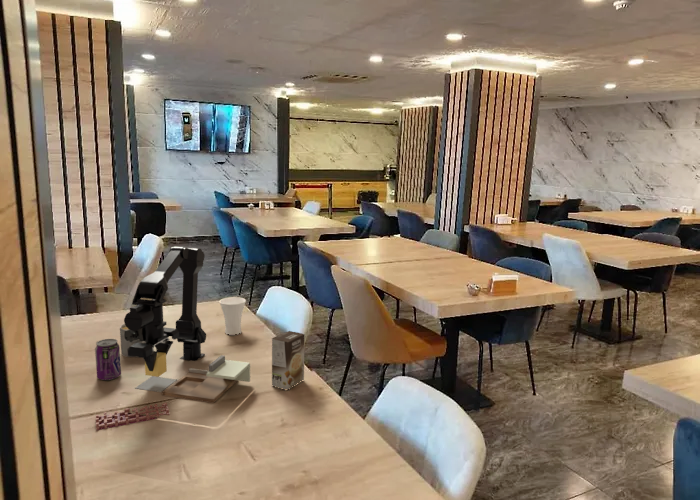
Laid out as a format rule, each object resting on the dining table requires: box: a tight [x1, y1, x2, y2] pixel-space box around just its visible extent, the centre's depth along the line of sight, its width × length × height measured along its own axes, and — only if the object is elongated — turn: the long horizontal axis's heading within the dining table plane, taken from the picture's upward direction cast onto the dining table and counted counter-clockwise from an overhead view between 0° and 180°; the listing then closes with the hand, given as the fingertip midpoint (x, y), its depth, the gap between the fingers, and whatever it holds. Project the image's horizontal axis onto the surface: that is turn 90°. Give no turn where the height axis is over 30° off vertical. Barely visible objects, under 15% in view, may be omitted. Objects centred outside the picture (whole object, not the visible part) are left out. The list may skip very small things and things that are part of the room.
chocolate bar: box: [95, 402, 170, 431], centre depth 144 cm, size 7×19×2 cm, turn 116°
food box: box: [271, 330, 305, 390], centre depth 165 cm, size 9×6×16 cm
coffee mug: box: [119, 323, 146, 358], centre depth 187 cm, size 13×10×10 cm
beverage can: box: [94, 338, 122, 381], centre depth 167 cm, size 7×7×12 cm
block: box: [144, 352, 168, 377], centre depth 162 cm, size 4×4×6 cm
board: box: [161, 367, 239, 403], centre depth 161 cm, size 16×17×2 cm
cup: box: [218, 296, 247, 336], centre depth 210 cm, size 10×10×14 cm
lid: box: [206, 354, 251, 383], centre depth 159 cm, size 11×9×8 cm
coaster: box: [134, 376, 178, 393], centre depth 163 cm, size 9×9×1 cm
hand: (155, 367), depth 162 cm, fingers closed on block, 4 cm apart
